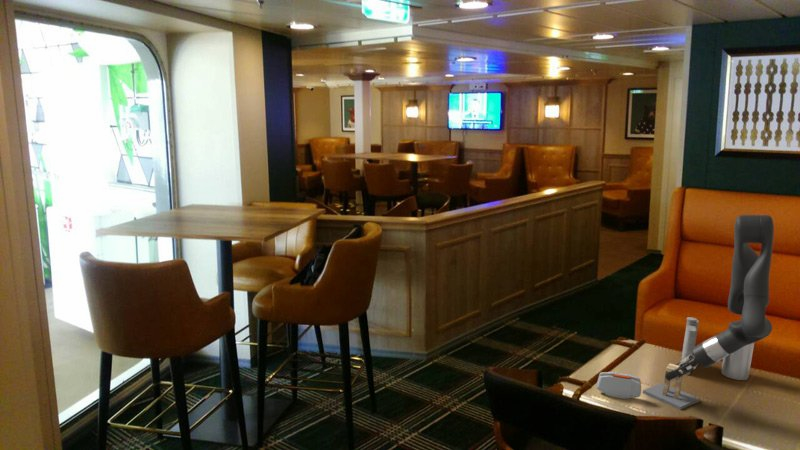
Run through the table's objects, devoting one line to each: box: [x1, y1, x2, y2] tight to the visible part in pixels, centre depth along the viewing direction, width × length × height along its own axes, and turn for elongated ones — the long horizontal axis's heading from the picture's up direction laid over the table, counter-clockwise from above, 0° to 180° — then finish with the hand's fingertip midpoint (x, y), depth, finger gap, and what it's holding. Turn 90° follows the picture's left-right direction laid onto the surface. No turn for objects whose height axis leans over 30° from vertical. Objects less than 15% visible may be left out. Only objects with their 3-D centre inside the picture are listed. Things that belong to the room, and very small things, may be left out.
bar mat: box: [642, 382, 701, 410], centre depth 216 cm, size 12×14×1 cm
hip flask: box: [680, 316, 699, 376], centre depth 241 cm, size 16×4×20 cm, turn 152°
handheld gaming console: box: [596, 371, 642, 400], centre depth 214 cm, size 14×3×8 cm, turn 74°
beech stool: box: [663, 363, 684, 399], centre depth 215 cm, size 5×5×10 cm
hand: (669, 374), depth 215 cm, fingers open, 7 cm apart
